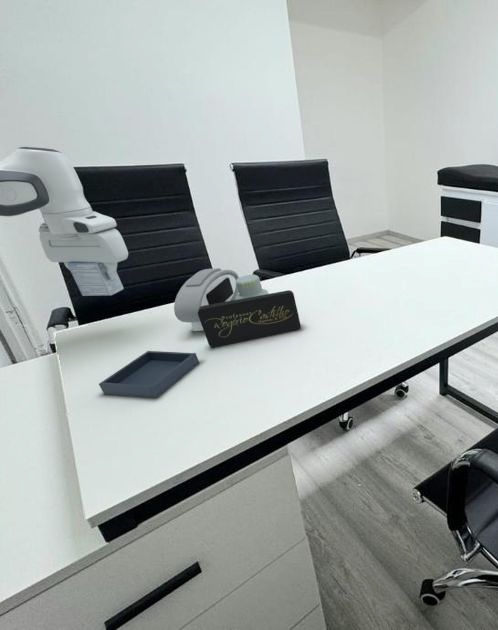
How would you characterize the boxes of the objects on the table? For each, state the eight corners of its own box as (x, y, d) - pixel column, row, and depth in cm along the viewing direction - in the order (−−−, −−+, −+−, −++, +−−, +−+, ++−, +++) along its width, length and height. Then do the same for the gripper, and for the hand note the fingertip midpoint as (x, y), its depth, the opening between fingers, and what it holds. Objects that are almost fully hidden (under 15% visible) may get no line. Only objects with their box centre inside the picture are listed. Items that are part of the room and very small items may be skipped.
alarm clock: (208, 336, 96) (191, 289, 90) (184, 337, 96) (165, 290, 90) (245, 298, 116) (233, 257, 110) (225, 299, 116) (212, 258, 111)
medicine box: (124, 289, 99) (111, 256, 95) (110, 296, 95) (96, 262, 91) (96, 289, 100) (82, 257, 96) (81, 296, 96) (66, 263, 92)
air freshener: (275, 315, 104) (266, 281, 100) (242, 323, 101) (232, 288, 96) (268, 301, 113) (260, 269, 108) (238, 308, 109) (228, 275, 105)
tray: (103, 394, 76) (98, 384, 75) (152, 360, 87) (147, 350, 86) (156, 398, 74) (151, 387, 73) (199, 362, 85) (195, 353, 84)
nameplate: (209, 348, 90) (196, 310, 86) (210, 344, 92) (197, 306, 87) (301, 329, 96) (293, 292, 92) (300, 325, 98) (292, 289, 93)
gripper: (21, 226, 88) (50, 282, 94) (96, 225, 85) (121, 284, 91) (49, 220, 94) (75, 273, 100) (120, 219, 90) (142, 274, 96)
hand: (97, 278), depth 95 cm, fingers closed on medicine box, 8 cm apart
